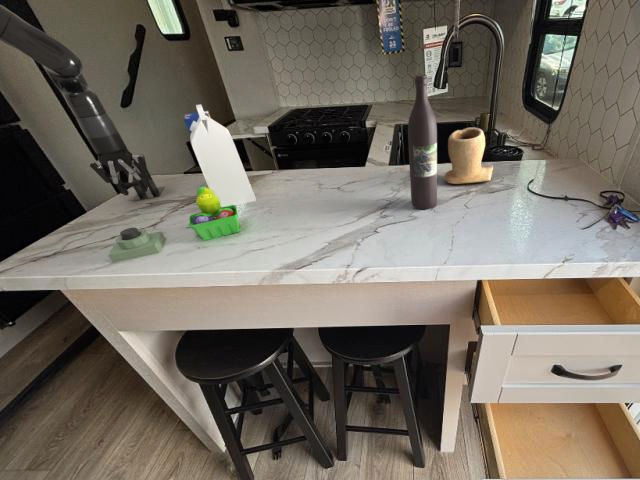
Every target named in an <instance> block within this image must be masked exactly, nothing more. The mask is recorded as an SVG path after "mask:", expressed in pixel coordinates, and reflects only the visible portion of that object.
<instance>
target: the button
mask: <svg viewBox="0 0 640 480" xmlns="http://www.w3.org/2000/svg"><path fill="white" fill-rule="evenodd" d="M138 230H139V229H138V228H137V227H128V228H125V229H123V230H121V231H120V232H119V236H122V238H123V239H124V240H130V239H134V238H136V237H138V236H140V235H141V234H140V232H139V231H138Z"/></svg>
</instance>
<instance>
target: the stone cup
mask: <svg viewBox="0 0 640 480" xmlns="http://www.w3.org/2000/svg"><path fill="white" fill-rule="evenodd" d="M485 147H486V137H485V132H484V130H483V129H481V128H479V127H466V128H463V129H457V130H454V131H453V132H452V133H451V134H450V135H449V137H448V140H447V151H448V157H449V160H450V163H451V169H450V170H448V171H446V172H445V173H444V180H445V182H447V183H448V184H452V185H453V184H454V185H459V184H461V185H462V184H473V183H482V182H490V181H491V179H492V176H493V170H494V166H493V165H488V166H487V165H486V166H485V165H484V166H482V161H483V156H484V152H485Z"/></svg>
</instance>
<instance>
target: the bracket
mask: <svg viewBox="0 0 640 480" xmlns="http://www.w3.org/2000/svg"><path fill="white" fill-rule="evenodd" d="M133 160H134V162H135V164H136V166H137V168H138V169H137V170H138V171H139V172H140V173H141V171H140V167H139V163H137V162H136V160H135V159H133ZM147 171H148V174H147V176H146V177H144V180H145V182H146V184H147V186H148V189H147V192H143V191H142V189H141V187H140V186H139V185H138V186H132V188H133V189H134V191H135V193H136V194H135V196H134V197H133V198H132V200H131V202H138V201H143V200H148V199H155V198H159V197H160V196H161V194H162V193H163V191H164V189H165V186H157V185H156V183H155V180H153V177H152V176H151V174H150V172H149V170H148V169H147ZM123 172H124V174H125V175H126V177H127V180H129V172H128V171H123ZM136 181H137V179H136V178H135V179H134V182H136Z"/></svg>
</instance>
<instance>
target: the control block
mask: <svg viewBox="0 0 640 480" xmlns="http://www.w3.org/2000/svg"><path fill="white" fill-rule="evenodd" d="M138 231H139V232H140V234H141V235H140V236H138V237H136V238H134V239H130V240H124V239H123V238H122V236H121V235H119V236H118V237H117V238H116V239H115V243H114V245H113V246H112V248H111V249H110V251H109V253H108V254H107V256H108V257H109V259H110V260H111V261H112V263H118V262H119V263H120V262H123V261H128V260H132V259H133V260H134V259H137V258H142V257H147V256H152V255H156V254H160V253H161V251H162V249H163V245H164V243H165V242H166V241H165V240H166V237H165V235H164V233H163V232H162V231H161V230H160V231H156V232H150V233H149V232H148V231H147V230H145V229H138Z"/></svg>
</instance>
